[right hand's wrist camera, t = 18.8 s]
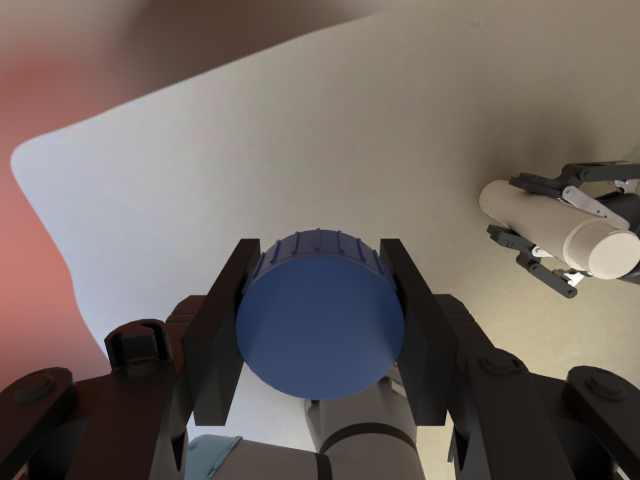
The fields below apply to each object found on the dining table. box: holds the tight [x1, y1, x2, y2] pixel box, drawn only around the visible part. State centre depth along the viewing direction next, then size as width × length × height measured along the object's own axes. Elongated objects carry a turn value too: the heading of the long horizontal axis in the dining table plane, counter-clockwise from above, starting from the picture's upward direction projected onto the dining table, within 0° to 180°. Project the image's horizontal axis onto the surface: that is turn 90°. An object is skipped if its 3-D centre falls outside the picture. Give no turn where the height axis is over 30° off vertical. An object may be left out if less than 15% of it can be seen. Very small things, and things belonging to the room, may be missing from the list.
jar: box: [479, 180, 640, 279], centre depth 30 cm, size 4×4×16 cm
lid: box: [235, 228, 405, 400], centre depth 11 cm, size 5×5×2 cm
